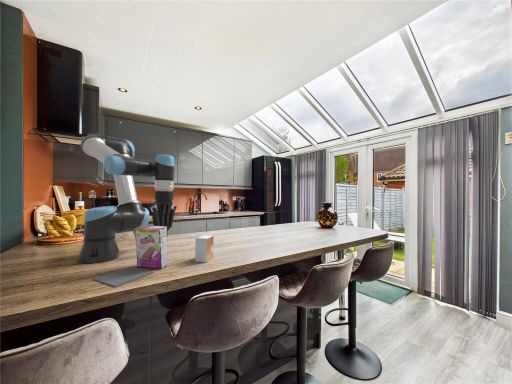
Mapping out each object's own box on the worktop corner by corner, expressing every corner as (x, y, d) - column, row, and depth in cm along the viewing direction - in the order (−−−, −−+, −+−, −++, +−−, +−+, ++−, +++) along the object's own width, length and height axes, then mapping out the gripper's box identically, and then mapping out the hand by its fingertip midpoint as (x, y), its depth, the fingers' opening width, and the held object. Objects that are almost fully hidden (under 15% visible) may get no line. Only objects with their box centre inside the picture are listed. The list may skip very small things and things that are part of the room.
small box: (206, 262, 95) (206, 238, 95) (194, 261, 96) (195, 238, 96) (213, 257, 103) (214, 235, 103) (202, 256, 104) (203, 234, 104)
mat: (92, 279, 74) (92, 278, 74) (131, 267, 87) (131, 266, 87) (115, 287, 68) (115, 286, 68) (153, 273, 81) (153, 272, 81)
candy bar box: (136, 267, 87) (134, 227, 85) (144, 262, 92) (142, 224, 90) (161, 269, 85) (159, 229, 83) (168, 264, 90) (167, 226, 88)
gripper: (158, 190, 86) (156, 249, 85) (181, 191, 98) (180, 243, 97) (145, 190, 89) (143, 247, 89) (169, 190, 101) (168, 241, 100)
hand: (162, 245), depth 93 cm, fingers closed
